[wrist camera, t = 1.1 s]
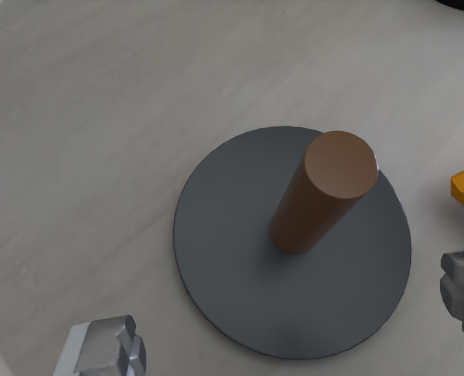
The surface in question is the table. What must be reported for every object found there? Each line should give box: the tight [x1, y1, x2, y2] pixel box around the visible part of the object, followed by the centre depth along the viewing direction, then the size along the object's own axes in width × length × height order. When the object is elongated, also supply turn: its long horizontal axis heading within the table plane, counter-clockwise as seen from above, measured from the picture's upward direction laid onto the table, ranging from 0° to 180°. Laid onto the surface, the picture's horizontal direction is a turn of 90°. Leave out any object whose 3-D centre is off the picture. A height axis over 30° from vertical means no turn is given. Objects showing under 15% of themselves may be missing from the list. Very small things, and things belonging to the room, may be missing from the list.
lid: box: [173, 126, 411, 360], centre depth 20 cm, size 14×14×10 cm
